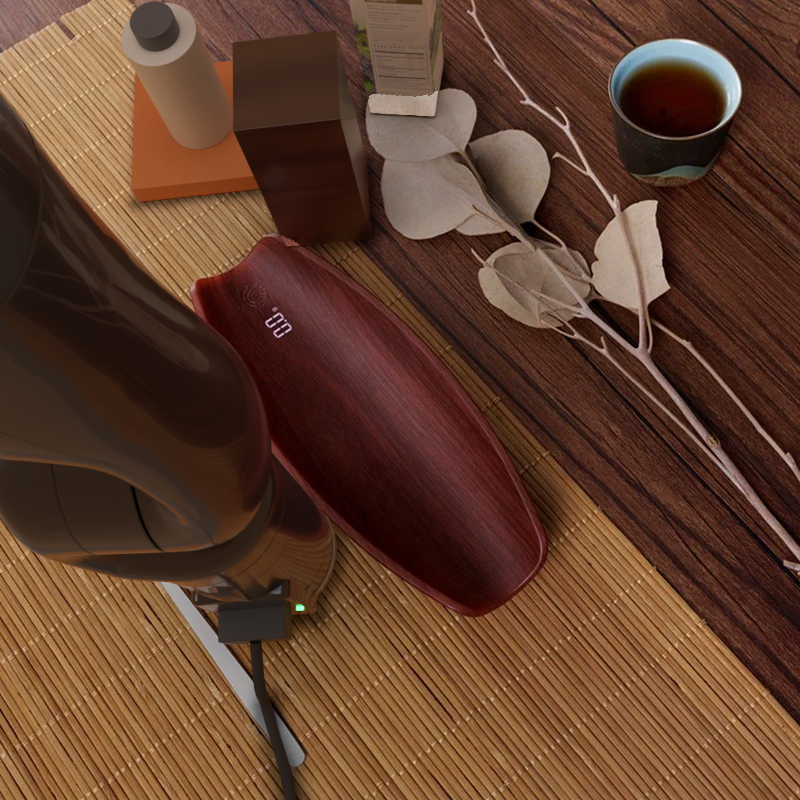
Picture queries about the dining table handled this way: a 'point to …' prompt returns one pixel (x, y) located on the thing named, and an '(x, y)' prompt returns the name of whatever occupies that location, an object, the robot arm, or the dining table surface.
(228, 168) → the stand
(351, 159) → the column
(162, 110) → the white bottle
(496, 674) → the dining table surface
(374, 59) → the syrup box
